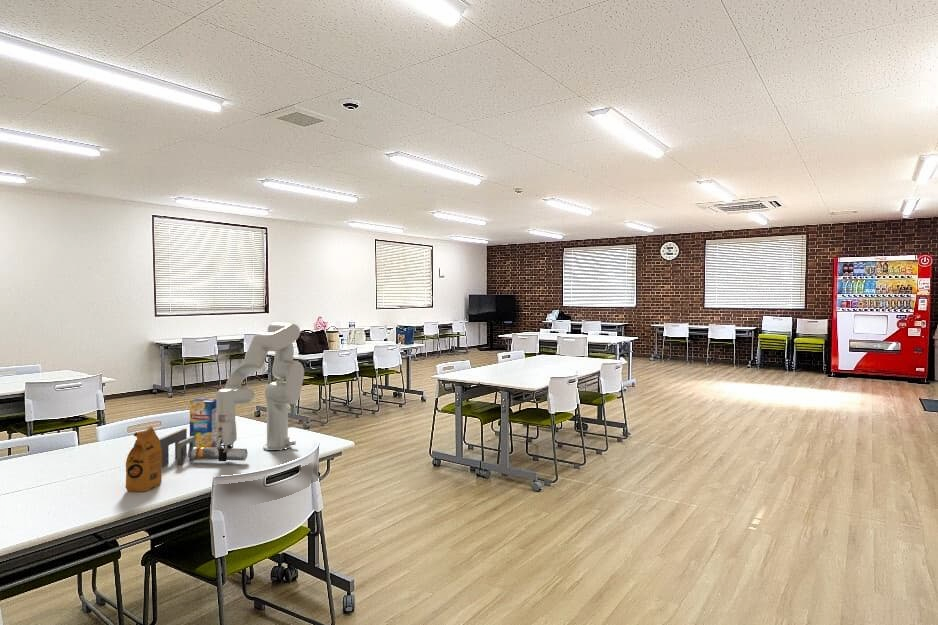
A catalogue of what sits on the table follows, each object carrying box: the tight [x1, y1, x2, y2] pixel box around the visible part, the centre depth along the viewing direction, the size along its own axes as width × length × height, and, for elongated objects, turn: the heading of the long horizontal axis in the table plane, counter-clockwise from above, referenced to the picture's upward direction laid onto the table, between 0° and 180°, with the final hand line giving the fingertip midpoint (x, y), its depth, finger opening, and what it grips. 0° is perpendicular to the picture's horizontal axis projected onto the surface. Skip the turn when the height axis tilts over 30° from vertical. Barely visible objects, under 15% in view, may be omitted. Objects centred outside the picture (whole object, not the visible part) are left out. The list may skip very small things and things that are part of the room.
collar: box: [176, 436, 195, 466], centre depth 244 cm, size 2×11×10 cm, turn 177°
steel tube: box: [187, 447, 248, 462], centre depth 243 cm, size 24×5×5 cm, turn 87°
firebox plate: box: [158, 427, 188, 468], centre depth 244 cm, size 2×20×12 cm, turn 177°
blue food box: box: [189, 398, 217, 448], centre depth 270 cm, size 7×11×22 cm, turn 86°
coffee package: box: [125, 426, 163, 493], centre depth 212 cm, size 10×12×22 cm
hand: (225, 458), depth 243 cm, fingers closed on steel tube, 5 cm apart
